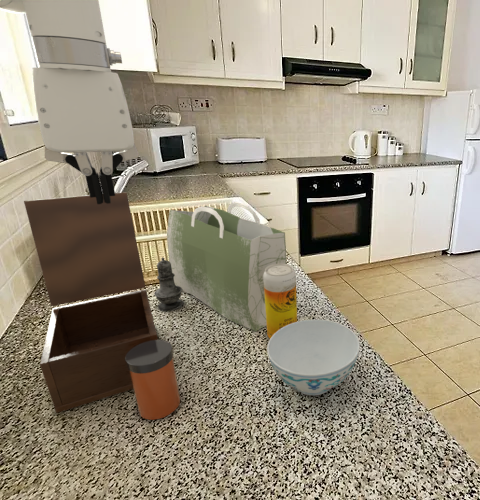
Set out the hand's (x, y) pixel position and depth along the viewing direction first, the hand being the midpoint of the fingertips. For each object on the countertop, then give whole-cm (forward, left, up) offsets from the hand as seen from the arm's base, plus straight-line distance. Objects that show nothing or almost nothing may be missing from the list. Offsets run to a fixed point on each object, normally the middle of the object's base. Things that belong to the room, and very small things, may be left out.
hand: (104, 201), depth 53 cm
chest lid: (-16, +4, -12) cm, 20 cm away
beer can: (+14, +21, -31) cm, 40 cm away
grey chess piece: (-16, +18, -31) cm, 39 cm away
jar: (+9, -3, -31) cm, 32 cm away
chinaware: (+27, +13, -31) cm, 43 cm away
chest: (-7, -1, -31) cm, 31 cm away
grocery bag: (-7, +28, -31) cm, 42 cm away
